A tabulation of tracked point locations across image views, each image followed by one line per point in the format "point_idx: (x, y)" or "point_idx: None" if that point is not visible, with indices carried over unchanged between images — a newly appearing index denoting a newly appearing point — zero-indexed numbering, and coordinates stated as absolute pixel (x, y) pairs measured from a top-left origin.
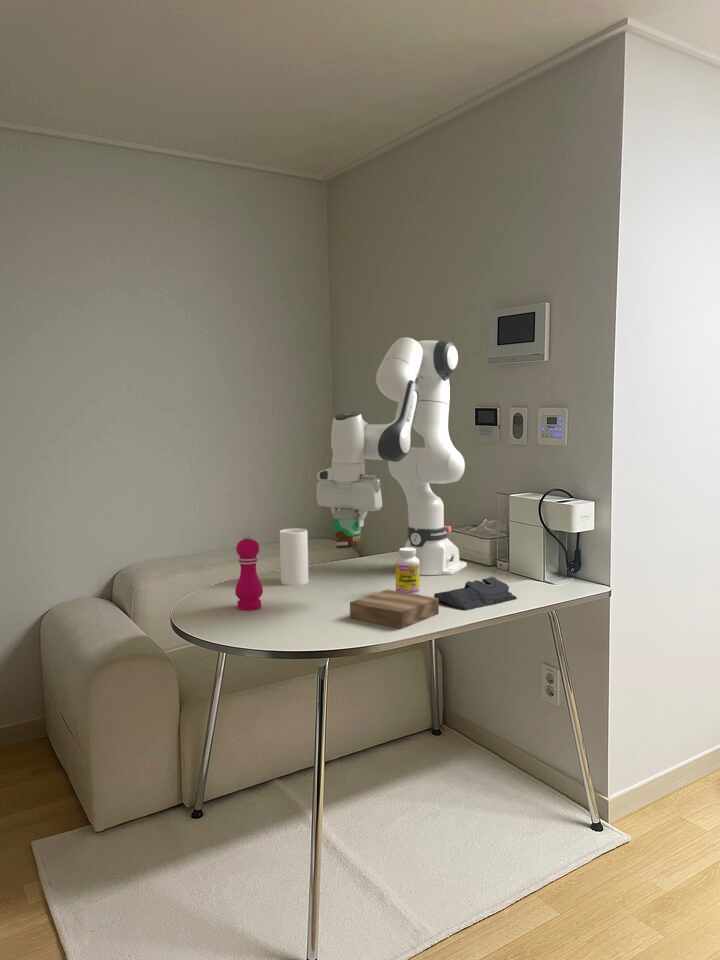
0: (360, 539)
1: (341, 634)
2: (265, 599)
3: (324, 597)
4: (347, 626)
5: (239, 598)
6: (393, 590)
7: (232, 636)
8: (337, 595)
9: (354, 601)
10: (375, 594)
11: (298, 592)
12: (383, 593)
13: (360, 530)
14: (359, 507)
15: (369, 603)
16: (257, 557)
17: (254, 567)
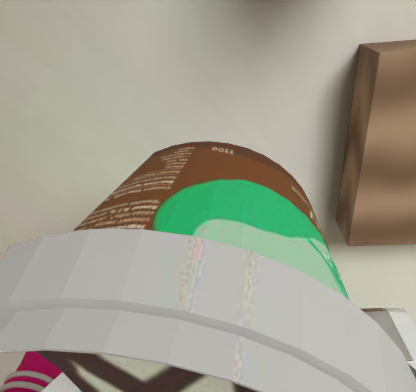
0: (298, 192)
1: (387, 301)
2: (39, 226)
3: (127, 117)
4: (369, 264)
5: None
6: (410, 50)
7: None
8: (136, 70)
9: (355, 234)
10: (373, 142)
11: (20, 125)
12: (393, 113)
13: (325, 247)
14: None
15: (409, 227)
16: (38, 388)
17: (60, 370)
